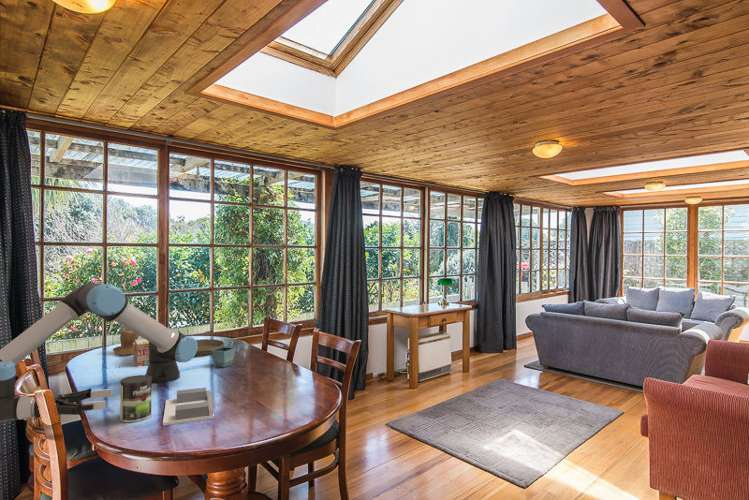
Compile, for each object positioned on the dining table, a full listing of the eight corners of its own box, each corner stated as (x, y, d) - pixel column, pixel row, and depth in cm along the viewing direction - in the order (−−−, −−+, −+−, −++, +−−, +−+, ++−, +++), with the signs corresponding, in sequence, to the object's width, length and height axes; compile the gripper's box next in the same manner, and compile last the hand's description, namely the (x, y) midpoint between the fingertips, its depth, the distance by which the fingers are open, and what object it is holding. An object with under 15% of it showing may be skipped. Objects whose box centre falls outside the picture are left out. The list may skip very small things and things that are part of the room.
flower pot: (210, 367, 226) (210, 350, 226) (222, 363, 234) (222, 346, 234) (224, 369, 223) (224, 351, 223) (235, 364, 231) (235, 348, 231)
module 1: (176, 403, 171) (176, 394, 171) (176, 399, 175) (177, 390, 175) (206, 399, 175) (206, 391, 175) (206, 395, 180) (206, 387, 180)
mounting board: (162, 425, 152) (162, 422, 152) (166, 402, 175) (166, 399, 175) (214, 418, 159) (214, 415, 159) (211, 396, 182) (211, 394, 182)
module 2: (175, 420, 154) (175, 410, 154) (175, 415, 159) (175, 405, 159) (208, 415, 159) (208, 406, 159) (207, 410, 163) (207, 401, 163)
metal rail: (209, 416, 158) (209, 410, 158) (206, 395, 180) (206, 390, 180) (213, 415, 159) (213, 409, 159) (210, 394, 181) (210, 390, 181)
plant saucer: (167, 360, 239) (167, 352, 239) (169, 348, 267) (169, 341, 267) (226, 355, 252) (226, 347, 252) (222, 344, 280) (222, 337, 280)
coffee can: (157, 415, 161) (157, 377, 161) (129, 424, 152) (129, 385, 152) (142, 409, 167) (142, 373, 167) (114, 418, 158) (114, 380, 158)
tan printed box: (132, 358, 243) (132, 336, 243) (145, 357, 246) (145, 335, 246) (137, 367, 225) (137, 343, 225) (150, 365, 229) (150, 342, 229)
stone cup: (141, 354, 252) (141, 328, 252) (118, 357, 244) (118, 331, 244) (134, 349, 263) (134, 325, 263) (112, 352, 255) (112, 327, 255)
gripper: (47, 405, 159) (113, 397, 167) (23, 431, 136) (101, 421, 145) (47, 384, 159) (113, 378, 167) (23, 407, 136) (102, 399, 145)
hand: (108, 398), depth 156 cm, fingers open, 13 cm apart
